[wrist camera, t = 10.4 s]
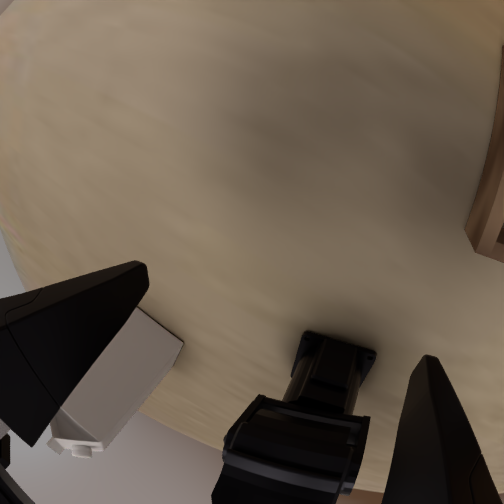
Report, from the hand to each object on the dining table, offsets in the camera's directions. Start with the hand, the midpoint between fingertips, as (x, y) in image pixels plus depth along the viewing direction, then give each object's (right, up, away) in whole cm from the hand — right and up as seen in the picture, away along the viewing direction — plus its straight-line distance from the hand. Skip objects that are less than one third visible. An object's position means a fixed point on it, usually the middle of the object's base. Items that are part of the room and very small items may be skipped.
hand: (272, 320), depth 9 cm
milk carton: (-12, -8, +27) cm, 30 cm away
